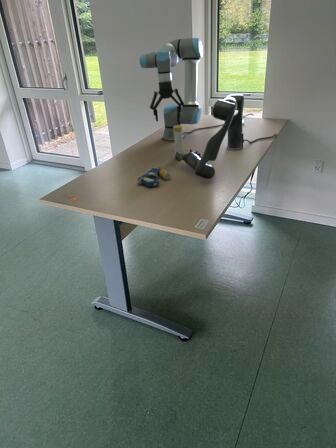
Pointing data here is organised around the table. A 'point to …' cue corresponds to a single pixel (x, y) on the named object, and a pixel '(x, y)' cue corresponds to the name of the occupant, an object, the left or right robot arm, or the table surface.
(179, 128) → the lid
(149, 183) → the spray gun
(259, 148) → the table surface
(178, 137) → the white cylinder
